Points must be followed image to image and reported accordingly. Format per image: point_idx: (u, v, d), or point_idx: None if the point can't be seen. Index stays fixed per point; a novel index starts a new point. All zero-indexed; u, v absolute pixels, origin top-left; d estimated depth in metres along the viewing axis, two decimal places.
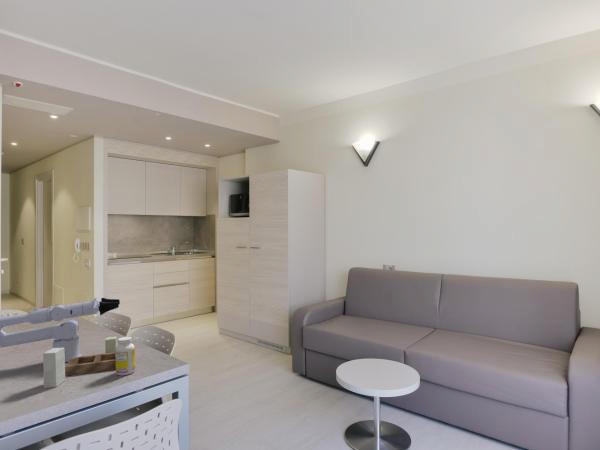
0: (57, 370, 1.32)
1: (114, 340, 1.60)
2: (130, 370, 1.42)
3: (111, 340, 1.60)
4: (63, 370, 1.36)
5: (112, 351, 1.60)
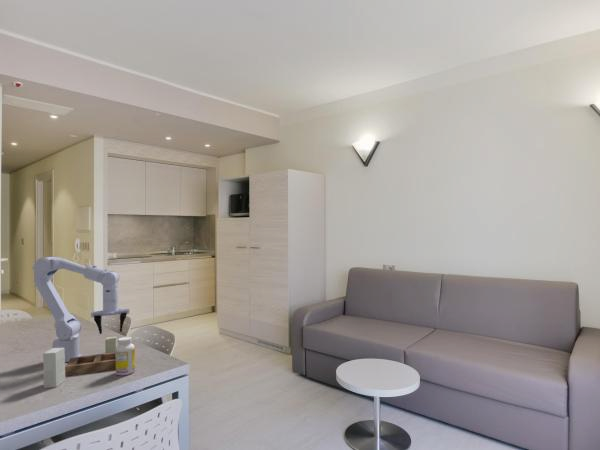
0: (57, 370, 1.32)
1: (114, 340, 1.60)
2: (130, 370, 1.42)
3: (111, 340, 1.60)
4: (63, 370, 1.36)
5: (112, 351, 1.60)
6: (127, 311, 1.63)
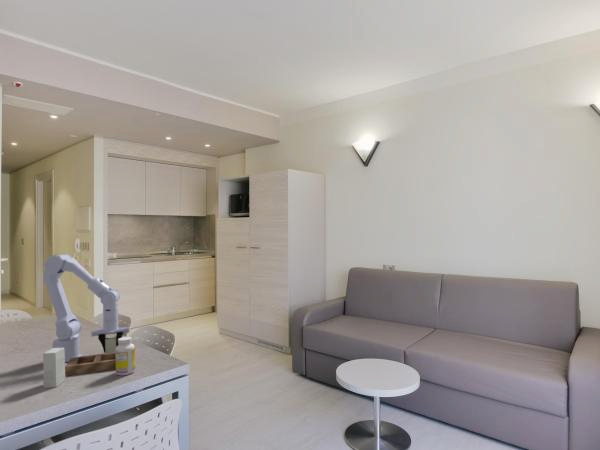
0: (57, 370, 1.32)
1: (114, 340, 1.60)
2: (130, 370, 1.42)
3: (111, 340, 1.60)
4: (63, 370, 1.36)
5: (112, 351, 1.60)
6: (127, 330, 1.63)
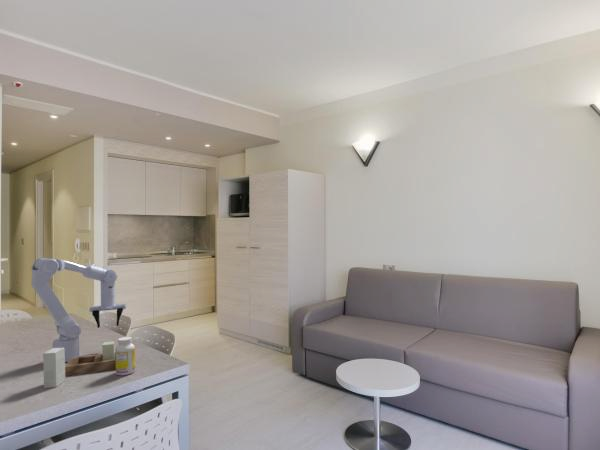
0: (57, 370, 1.32)
1: (112, 345, 1.51)
2: (130, 369, 1.42)
3: (109, 345, 1.50)
4: (63, 370, 1.36)
5: (110, 357, 1.50)
6: (123, 306, 1.74)
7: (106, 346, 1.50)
